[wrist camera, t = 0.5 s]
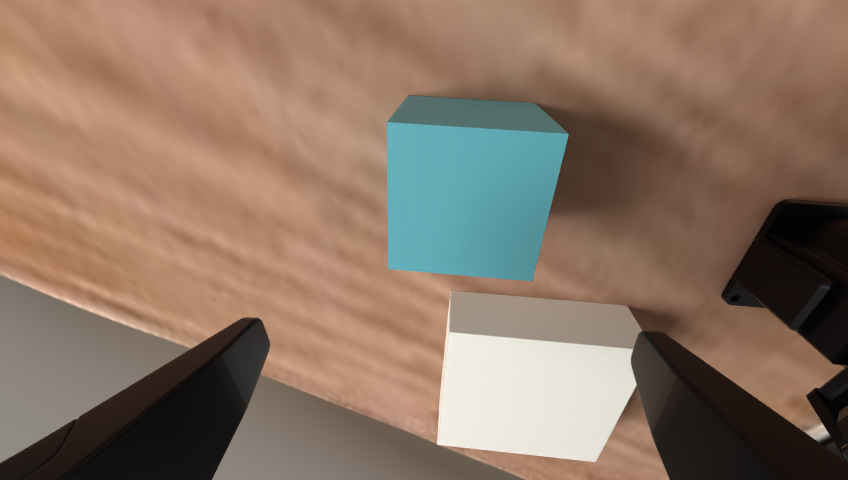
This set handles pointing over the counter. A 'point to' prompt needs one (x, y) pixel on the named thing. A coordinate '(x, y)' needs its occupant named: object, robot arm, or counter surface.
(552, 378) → the off-white block
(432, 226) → the teal cube
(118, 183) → the counter surface
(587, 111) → the counter surface
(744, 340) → the counter surface
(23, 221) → the counter surface
